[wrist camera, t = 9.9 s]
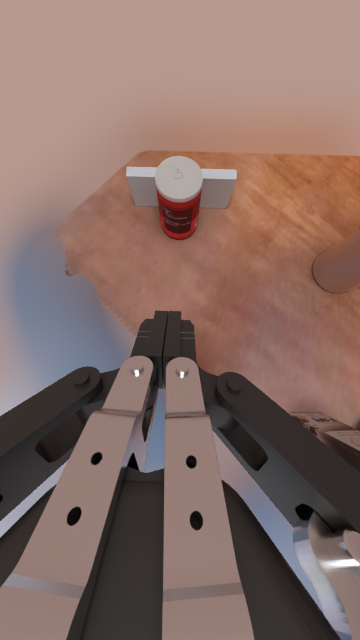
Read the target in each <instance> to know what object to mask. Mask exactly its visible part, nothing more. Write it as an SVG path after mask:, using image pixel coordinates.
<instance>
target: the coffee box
mask: <svg viewBox="0 0 360 640" xmlns="http://www.w3.org/2000/svg"><path fill="white" fill-rule="evenodd" d="M290 415H291V416H292V417H293V418H294V419H296V420H297V421H298V422H299V423H300V424H302V425H303V426H304V427H305V428H306V429H308V430H309V431H310V432H311V433H313V434H314V435H315V436H316V437H317V438H319V439H320V440H321V441H322V442H323V443H325V444H326V445H327V446H328V447H329V448H331V449H332V450H333V451H334V452H336V453H337V454H338V455H339V456H340V457H342V458H343V459H344V460H345V461H346V462H348V463H349V464H350V465H351V466H352V467H354V468H355V469H356V470H357V471H358V472H360V431H358V430H356V429H354V428H352V427H350V426H348V425H346V424H344V423H342V422H339V421H337V420H335V419H333V418H331V417H329V416H326V415H324V414H322V413H290Z"/></svg>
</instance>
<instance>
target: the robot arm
mask: <svg viewBox="0 0 360 640" xmlns="http://www.w3.org/2000/svg"><path fill="white" fill-rule="evenodd" d="M313 276H314V278H315V280H316V282H317V283H318V284H319V285H320V286H321V287H322V288H323V289H325V290H327V291H329V292H332V293H344V292H347V291H350V290H353V289H356V288H358V287H360V228H359V229H357V230H356V231H354V232H353V233H351V234H350V235H348V236H347V237H345V238H344V239H342V240H341V241H339V242H338V243H336V244H335V245H333V246H332V247H330V248H329V249H328V250H326V251H325V252H323V253H322V254H320V255H319V256H318V257H317V258H316V259H315V261H314V263H313ZM163 384H164V388H165V389H166V414H165V468H164V469H160V470H157V471H153V472H150V473H144V470H145V464H146V456H147V445H148V440H149V435H150V430H151V426H152V421H153V416H154V412H155V407H156V399H157V394H158V388H162V389H163ZM212 430H213V431H214V432H215V433H216V434H217V436H218V437H219V438H220V439H221V440H222V442H223V443H224V444H225V445H226V446H227V448H228V449H229V450H230V451H231V452H232V454H233V455H234V456H235V457H236V458H237V460H238V461H239V462H240V463H241V465H242V466H243V467H244V468H245V469H246V471H247V472H248V473H249V474H250V476H251V477H252V478H253V479H254V480H255V482H256V483H257V484H258V485H259V486H260V488H261V489H262V490H263V491H264V492H265V494H266V495H267V496H268V497H269V499H270V500H271V501H272V502H273V503H274V505H275V506H276V507H277V508H278V509H279V510H280V512H281V513H282V514H283V515H284V517H285V518H286V519H287V520H288V521H289V523H290V524H291V525H292V526H293V528H294V531H293V542H294V548H295V551H296V555H297V557H298V560H299V562H300V564H301V566H302V568H303V570H304V571H305V573H306V575H307V576H308V578H309V579H310V581H311V583H312V584H313V586H314V588H315V590H316V592H317V594H318V597H319V599H320V602H321V605H322V609H323V612H324V614H323V613H322V611H321V610H320V609H319V607H318V606H317V604H316V603H315V601H314V600H313V599H312V597H311V596H310V594H309V593H308V591H307V590H306V589H305V588H304V586H303V584H302V583H301V581H300V580H299V579H298V577H297V576H296V574H295V573H294V572H293V570H292V569H291V567H290V566H289V564H288V563H287V562H286V560H285V559H284V557H283V556H282V554H281V553H280V552H279V550H278V549H277V547H276V546H275V544H274V543H273V542H272V540H271V539H270V537H269V536H268V534H267V533H266V532H265V530H264V529H263V527H262V526H261V524H260V523H259V522H258V520H257V519H256V517H255V516H254V515H253V513H252V512H251V510H250V509H249V507H248V506H247V504H246V503H245V502H244V500H243V499H242V498H241V497H240V496H239V494H238V493H237V492H236V491H235V490H234V489H233V488H231V487H230V486H229V485H228V484H227V483H226V482H224V481H223V480H221V476H220V470H219V465H218V459H217V454H216V448H215V443H214V437H213V432H212ZM68 459H69V460H68ZM67 460H68V462H67V464H66V466H65V468H64V471H63V473H62V475H61V477H60V479H59V481H58V483H57V484H56V485H55V486H54V487H52V488H51V489H50V490H49V491H48V492H46V493H45V494H44V495H43V496H42V497H41V498H40V499H39V500H38V501H37V502H36V503H35V504H34V505H33V506H32V507H31V508H30V509H29V510H28V511H27V512H26V513H25V514H24V515H23V516H22V517H21V518H20V519H19V520H18V521H17V522H16V523H15V524H14V525H13V526H12V527H11V528H10V529H9V530H8V531H7V532H6V533H5V534H4V535H3V536H2V537H1V538H0V640H360V472H358V471H357V470H356V469H355V468H354V467H352V466H351V465H350V464H349V463H348V462H346V461H345V460H344V459H343V458H342V457H340V456H339V455H338V454H337V453H336V452H334V451H333V450H332V449H331V448H329V447H328V446H327V445H326V444H325V443H323V442H322V441H321V440H320V439H319V438H317V437H316V436H315V435H314V434H313V433H311V432H310V431H309V430H308V429H306V428H305V427H304V426H303V425H302V424H300V423H299V422H298V421H297V420H296V419H294V418H293V417H292V416H291V415H290V414H288V413H287V412H286V411H285V410H284V409H282V408H281V407H280V406H279V405H277V404H276V403H275V402H274V401H273V400H271V399H270V398H269V397H268V396H267V395H265V394H264V393H263V392H262V391H261V390H259V389H258V388H257V387H256V386H255V385H253V384H252V383H251V382H250V381H248V380H247V379H246V378H245V377H243V376H242V375H240V374H238V373H234V372H226V373H223V374H221V375H220V376H219V377H218V376H215V375H212V374H209V373H207V372H205V371H203V370H202V369H201V368H200V367H199V366H198V364H197V362H196V351H195V336H194V325H193V324H192V323H191V321H190V320H181V312H179V311H169V314H168V311H155V315H154V319H146V320H145V321H144V322H143V323H142V324H141V325H140V328H139V332H138V335H137V338H136V341H135V344H134V347H133V350H132V354H131V357H130V358H129V359H127V360H126V361H125V362H124V363H123V364H122V366H121V368H119V369H117V370H113V371H109V372H105V373H100V372H99V371H98V370H97V369H96V368H94V367H82V368H79V369H76V370H75V371H73V372H71V373H70V374H68V375H66V376H65V377H63V378H61V379H60V380H58V381H57V382H55V383H53V384H52V385H50V386H48V387H47V388H45V389H44V390H42V391H40V392H39V393H37V394H36V395H34V396H32V397H31V398H29V399H27V400H26V401H24V402H23V403H21V404H19V405H18V406H16V407H14V408H13V409H11V410H10V411H8V412H6V413H5V414H3V415H1V416H0V521H1V520H2V519H3V518H4V517H5V516H6V515H8V513H10V512H11V511H12V510H13V509H14V508H15V507H16V506H18V505H19V504H20V503H21V502H22V501H23V500H24V499H25V498H26V497H27V496H28V495H30V494H31V493H32V492H33V491H34V490H35V489H36V488H37V487H38V486H40V485H41V484H42V483H43V482H44V481H45V480H46V479H47V478H48V477H50V476H51V475H52V474H53V473H54V472H55V471H56V470H57V469H58V468H59V467H60V466H62V465H63V464H64V463H65V462H66V461H67Z"/></svg>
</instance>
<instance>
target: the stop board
mask: <svg viewBox="0 0 360 640" xmlns="http://www.w3.org/2000/svg"><path fill="white" fill-rule="evenodd" d="M156 170H157V168H154V167H127V172H126V177H127V181H128V184H129V187H130V190H131V194H132V197H133V200H134V203H135V206H159V205H158V199H157V192H156V184H155V173H156ZM201 171H202V175H203V185H202V193H201V200H200V207H199V208H227V206H228V203H229V200H230V197H231V194H232V191H233V188H234V186H235V183H236V180H237V176H236V170H225V169H201Z"/></svg>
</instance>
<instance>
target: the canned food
mask: <svg viewBox="0 0 360 640" xmlns="http://www.w3.org/2000/svg"><path fill="white" fill-rule="evenodd" d="M155 184H156V192H157V199H158V205H159V212H160V218H161V225H162V228H163V229H164V231H165V232H166V234H167V235H168V236H170V237H172V238H174V239H185V238H187V237H189V236H190V235H191V234H192V233H193V232H194V230H195V228H196V226H197V220H198V213H199V207H200V200H201V193H202V185H203V175H202V171H201V169H200V167H199V166H198V164H197V163H196V162H194V161H193V160H191V159H189V158H187V157H183V156H173V157H170V158H167V159H165V160H164V161H163V162H161V163H160V165H159V166H158V168H157V170H156V173H155Z"/></svg>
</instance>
